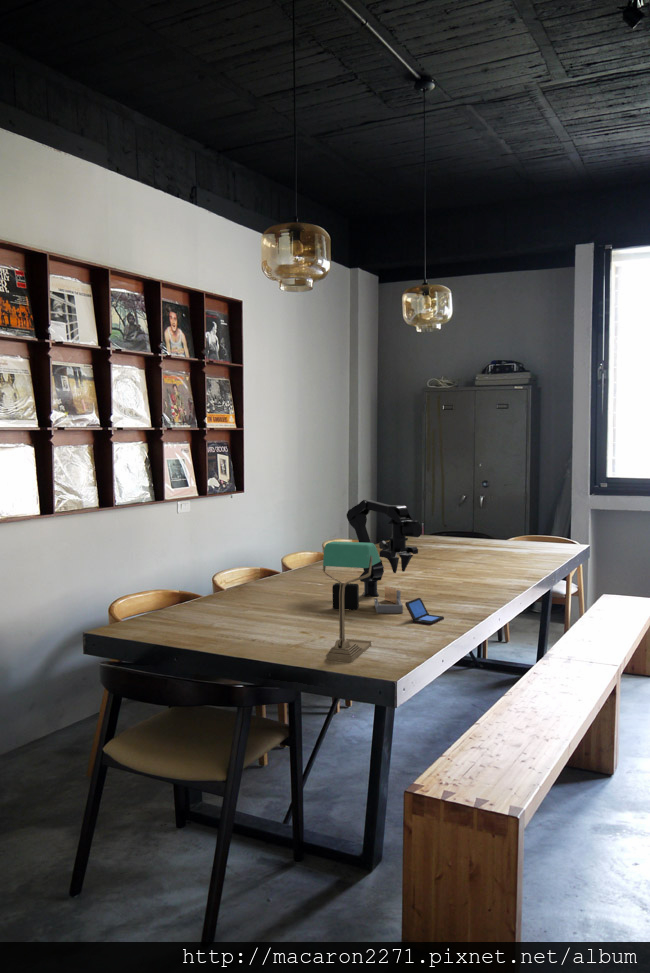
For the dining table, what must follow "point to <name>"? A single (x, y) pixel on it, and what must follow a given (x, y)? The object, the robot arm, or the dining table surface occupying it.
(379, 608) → the grey shallow open box
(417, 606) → the handheld game console
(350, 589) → the electronic device
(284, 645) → the dining table surface
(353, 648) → the banker's lamp
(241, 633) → the dining table surface
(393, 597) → the rectangular wooden block
